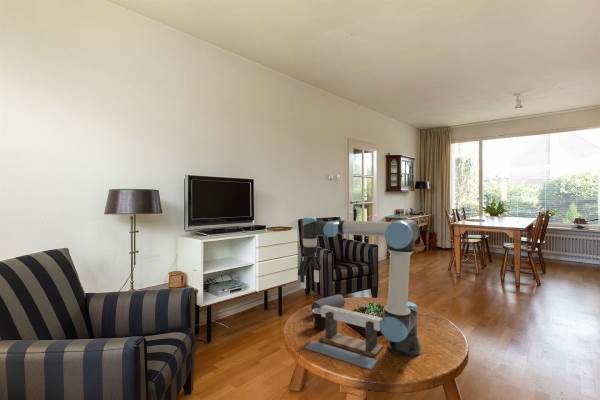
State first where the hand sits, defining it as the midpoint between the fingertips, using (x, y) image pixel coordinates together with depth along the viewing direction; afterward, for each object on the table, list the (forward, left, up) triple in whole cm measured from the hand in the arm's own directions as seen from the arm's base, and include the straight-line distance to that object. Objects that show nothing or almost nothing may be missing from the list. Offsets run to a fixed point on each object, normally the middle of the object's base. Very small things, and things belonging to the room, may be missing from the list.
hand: (310, 284), depth 167 cm
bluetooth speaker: (+7, -33, -28) cm, 44 cm away
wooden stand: (-23, -2, -27) cm, 36 cm away
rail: (-23, -2, -16) cm, 28 cm away
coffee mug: (0, -11, -27) cm, 30 cm away
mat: (-23, +10, -27) cm, 37 cm away
